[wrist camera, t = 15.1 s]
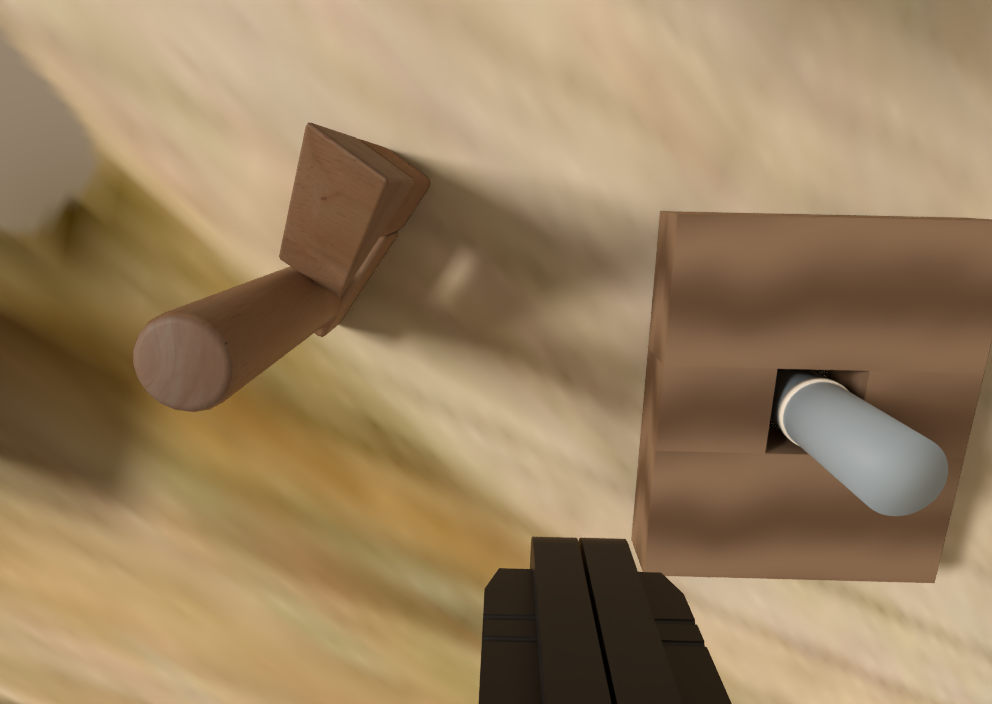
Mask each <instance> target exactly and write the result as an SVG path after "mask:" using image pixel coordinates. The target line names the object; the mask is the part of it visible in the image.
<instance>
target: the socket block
mask: <svg viewBox="0 0 992 704" xmlns="http://www.w3.org/2000/svg"><path fill="white" fill-rule="evenodd" d="M991 342H992V220H990V219H975V218H949V217H902V216H856V215H809V214H763V213H716V212H670V211H660V220H659V231H658V243H657V254H656V266H655V277H654V289H653V300H652V312H651V323H650V334H649V346H648V357H647V369H646V380H645V392H644V403H643V414H642V426H641V437H640V449H639V460H638V472H637V483H636V494H635V506H634V517H633V529H632V542H633V545H634V548H635V551H636V554H637V556H638V559H639V562H640V565H641V568H642V570H643V572H661V573H662V574H663V575H664V576H693V577H730V578H767V579H804V580H841V581H878V582H916V583H935V579H936V575H937V571H938V566H939V562H940V558H941V554H942V549H943V545H944V541H945V537H946V532H947V528H948V524H949V520H950V515H951V511H952V507H953V503H954V499H955V494H956V490H957V486H958V482H959V477H960V473H961V469H962V465H963V460H964V456H965V452H966V448H967V444H968V439H969V435H970V431H971V427H972V422H973V418H974V414H975V410H976V405H977V401H978V397H979V393H980V388H981V384H982V380H983V376H984V372H985V367H986V363H987V359H988V355H989V350H990V346H991ZM777 369H812V370H830V376H829V379H831V380H834V381H835V382H837V383H839V384H841V385H842V386H844V387H845V388H846V389H847V390H848V391H849V392H851V393H852V394H854V395H856V396H857V397H859V398H861V399H862V400H864V401H866V402H867V403H869V404H871V405H872V406H874V407H876V408H878V409H879V410H881V411H883V412H884V413H886V414H888V415H889V416H891V417H893V418H894V419H896V420H898V421H899V422H901V423H903V424H904V425H906V426H908V427H909V428H911V429H913V430H914V431H916V432H918V433H920V434H921V435H923V436H925V437H926V438H928V439H930V440H931V441H933V442H934V443H936V444H937V445H938V446H939V447H940V448H941V449H942V451H943V452H944V454H945V456H946V459H947V462H948V477H947V481H946V484H945V486H944V488H943V490H942V491H941V493H940V494H939V495H938V497H937V498H936V499H935V500H934V501H933V502H932V503H931V504H929V505H928V506H927V507H925V508H923V509H922V510H920V511H918V512H915V513H912V514H909V515H904V516H887V515H883V514H880V513H878V512H876V511H874V510H872V509H871V508H869V507H868V506H867V505H866V504H865V503H864V502H863V501H861V500H860V499H859V498H858V497H857V496H856V495H855V494H854V493H852V492H851V491H850V490H849V489H848V488H847V487H846V486H844V485H843V484H842V483H841V482H840V481H839V480H838V479H836V478H835V477H834V476H833V475H832V474H831V473H830V472H829V471H827V470H826V469H825V468H824V467H823V466H822V465H821V464H819V463H818V462H817V461H816V460H815V459H814V458H813V457H811V456H810V455H809V454H808V453H807V452H806V451H805V450H804V449H802V448H801V447H800V446H798V445H796V444H795V443H793V442H792V441H791V440H789V439H788V438H787V437H786V436H785V435H784V433H783V432H782V430H781V429H769V424H770V417H771V410H772V403H773V396H774V389H775V382H776V376H777Z"/></svg>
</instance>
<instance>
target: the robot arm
mask: <svg viewBox="0 0 992 704" xmlns="http://www.w3.org/2000/svg"><path fill="white" fill-rule="evenodd" d="M479 704H731V701H730V699H729V697H728V694H727V692H726V690H725V688H724V685H723V683H722V681H721V678H720V676H719V674H718V672H717V669H716V667H715V665H714V662H713V660H712V658H711V656H710V653H709V651H708V649H707V647H705V645H704V640H703V637H702V635H701V633H700V630H699V628H698V626H697V625H695V619H694V617H693V614H692V612H691V610H690V607H689V605H688V603H687V601H686V598H685V596H684V594H683V593H682V592H681V591H680V590H679V589H678V588H677V587H676V586H675V585H674V584H673V583H671V582H670V581H669V580H668V579H667V578H666V577H665V576H664V575H663V574H662V573H661V572H638V571H637V568H636V565H635V562H634V560H633V557H632V554H631V551H630V548H629V545H628V542H627V541H626V539H607V538H580V539H579V542H578V539H577V538H563V537H532V540H531V556H530V569H505V568H499V569H498V571H497V572H496V573H495V575H494V576H493V578H492V579H491V581H490V582H489V584H488V585H487V586H486V588H485V592H484V612H483V631H482V650H481V670H480V689H479Z"/></svg>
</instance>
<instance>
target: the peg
mask: <svg viewBox="0 0 992 704" xmlns="http://www.w3.org/2000/svg"><path fill="white" fill-rule="evenodd" d="M770 420H771V421H772V422H773V423H774V424H775V425H776V426H777V427H778V428H780V429H781V430H782V432H783V433H784V435H785V436H786V437H787V438H788V439H789V440H791V441H792V442H793V443H795V444H796V445H798V446H800V447H801V448H802V449H804V450H805V451H806V452H807V453H808V454H809V455H810V456H811V457H813V458H814V459H815V460H816V461H817V462H818V463H819V464H821V465H822V466H823V467H824V468H825V469H826V470H827V471H829V472H830V473H831V474H832V475H833V476H834V477H835V478H836V479H838V480H839V481H840V482H841V483H842V484H843V485H844V486H846V487H847V488H848V489H849V490H850V491H851V492H852V493H854V494H855V495H856V496H857V497H858V498H859V499H860V500H861V501H863V502H864V503H865V504H866V505H867V506H868V507H869V508H871V509H872V510H874V511H876V512H878V513H880V514H883V515H887V516H904V515H909V514H912V513H915V512H918V511H920V510H922V509H923V508H925V507H927V506H928V505H929V504H931V503H932V502H933V501H934V500H935V499H936V498H937V497H938V495H939V494H940V493H941V491H942V490H943V488H944V486H945V484H946V481H947V477H948V462H947V459H946V456H945V454H944V452H943V451H942V449H941V448H940V447H939V446H938V445H937V444H936V443H934V442H933V441H931V440H930V439H928V438H926V437H925V436H923V435H921V434H920V433H918V432H916V431H914V430H913V429H911V428H909V427H908V426H906V425H904V424H903V423H901V422H899V421H898V420H896V419H894V418H893V417H891V416H889V415H888V414H886V413H884V412H883V411H881V410H879V409H878V408H876V407H874V406H872V405H871V404H869V403H867V402H866V401H864V400H862V399H861V398H859V397H857V396H856V395H854V394H852V393H851V392H849V391H848V390H847V389H846V388H845V387H844V386H842V385H841V384H839V383H837V382H835V381H834V380H831V379H827V378H825V377H824V376H822V375H820V374H819V373H817V372H815V371H814V370H812V369H777V376H776V382H775V389H774V396H773V403H772V410H771V417H770Z"/></svg>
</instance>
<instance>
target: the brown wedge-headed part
mask: <svg viewBox="0 0 992 704" xmlns="http://www.w3.org/2000/svg"><path fill="white" fill-rule="evenodd" d="M429 186H430V181H429V179H428V178H427V177H426V176H425V175H423V174H422V173H420V172H419V171H418V170H416V169H415V168H414V167H412V166H411V165H409V164H408V163H407V162H405V161H404V160H402V159H401V158H400V157H398V156H397V155H396V154H394V153H393V152H391V151H390V150H389V149H387V148H385V147H382V146H379V145H376V144H373V143H370V142H367V141H364V140H360V139H357V138H355V137H352V136H349V135H346V134H343V133H340V132H337V131H334V130H331V129H328V128H325V127H322V126H319V125H316V124H313V123H308V124H307V125H306V128H305V133H304V138H303V143H302V148H301V152H300V157H299V162H298V167H297V172H296V177H295V182H294V187H293V191H292V196H291V201H290V206H289V211H288V216H287V221H286V225H285V230H284V235H283V240H282V245H281V250H280V255H279V257H280V259H281V260H282V261H284V262H285V263H287V264H288V265H290V267H287V268H285V269H282V270H279V271H277V272H274V273H271V274H268V275H266V276H263V277H260V278H258V279H255V280H252V281H249V282H247V283H244V284H241V285H239V286H236V287H233V288H230V289H228V290H225V291H222V292H220V293H217V294H214V295H212V296H209V297H206V298H203V299H201V300H198V301H195V302H193V303H190V304H187V305H184V306H182V307H179V308H176V309H174V310H171V311H168V312H165V313H163V314H161V315H159V316H157V317H156V318H154V319H152V320H150V321H149V322H148V323H147V324H146V326H145V327H144V328H143V329H142V330H141V332H140V333H139V335H138V338H137V341H136V343H135V346H134V349H133V365H134V368H135V371H136V374H137V377H138V380H139V381H140V383H141V384H142V385H143V387H144V388H145V390H146V391H147V393H149V394H150V395H151V396H152V397H154V398H155V399H156V400H157V401H158V402H160V403H162V404H164V405H166V406H168V407H171V408H173V409H176V410H183V411H190V412H196V411H202V410H208V409H211V408H213V407H215V406H217V405H218V404H220V403H222V402H224V401H225V400H226V399H228V398H229V397H230V396H232V395H233V394H234V393H236V392H237V391H238V390H239V389H241V388H242V387H243V386H245V385H246V384H247V383H249V382H250V381H251V380H253V379H254V378H255V377H257V376H258V375H259V374H261V373H262V372H263V371H264V370H266V369H267V368H268V367H270V366H271V365H272V364H274V363H275V362H276V361H278V360H279V359H280V358H282V357H283V356H284V355H285V354H287V353H288V352H289V351H291V350H292V349H293V348H295V347H296V346H297V345H299V344H300V343H301V342H303V341H304V340H305V339H307V338H308V337H309V336H310V335H312V334H313V333H315V334H316V335H318V336H321V337H323V336H325V335H326V334H328V333H329V332H330V331H331V330H332V329H334V328H335V327H336V326H337V325H338V324H340V322H341V321H342V319H343V317H344V316H345V314H346V313H347V311H348V310H349V308H350V307H351V305H352V304H353V302H354V301H355V299H356V298H357V296H358V295H359V293H360V292H361V290H362V289H363V287H364V285H365V284H366V282H367V281H368V279H369V278H370V276H371V275H372V273H373V272H374V270H375V269H376V267H377V266H378V264H379V263H380V261H381V260H382V258H383V257H384V255H385V254H386V252H387V250H388V249H389V247H390V246H391V244H392V243H393V241H394V240H395V238H396V237H397V230H399V229H401V228H402V227H403V226H404V225H405V223H406V222H407V220H408V219H409V217H410V216H411V214H412V212H413V211H414V209H415V208H416V206H417V205H418V203H419V202H420V200H421V199H422V197H423V196H424V194H425V193H426V191H427V190H428V188H429Z"/></svg>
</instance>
